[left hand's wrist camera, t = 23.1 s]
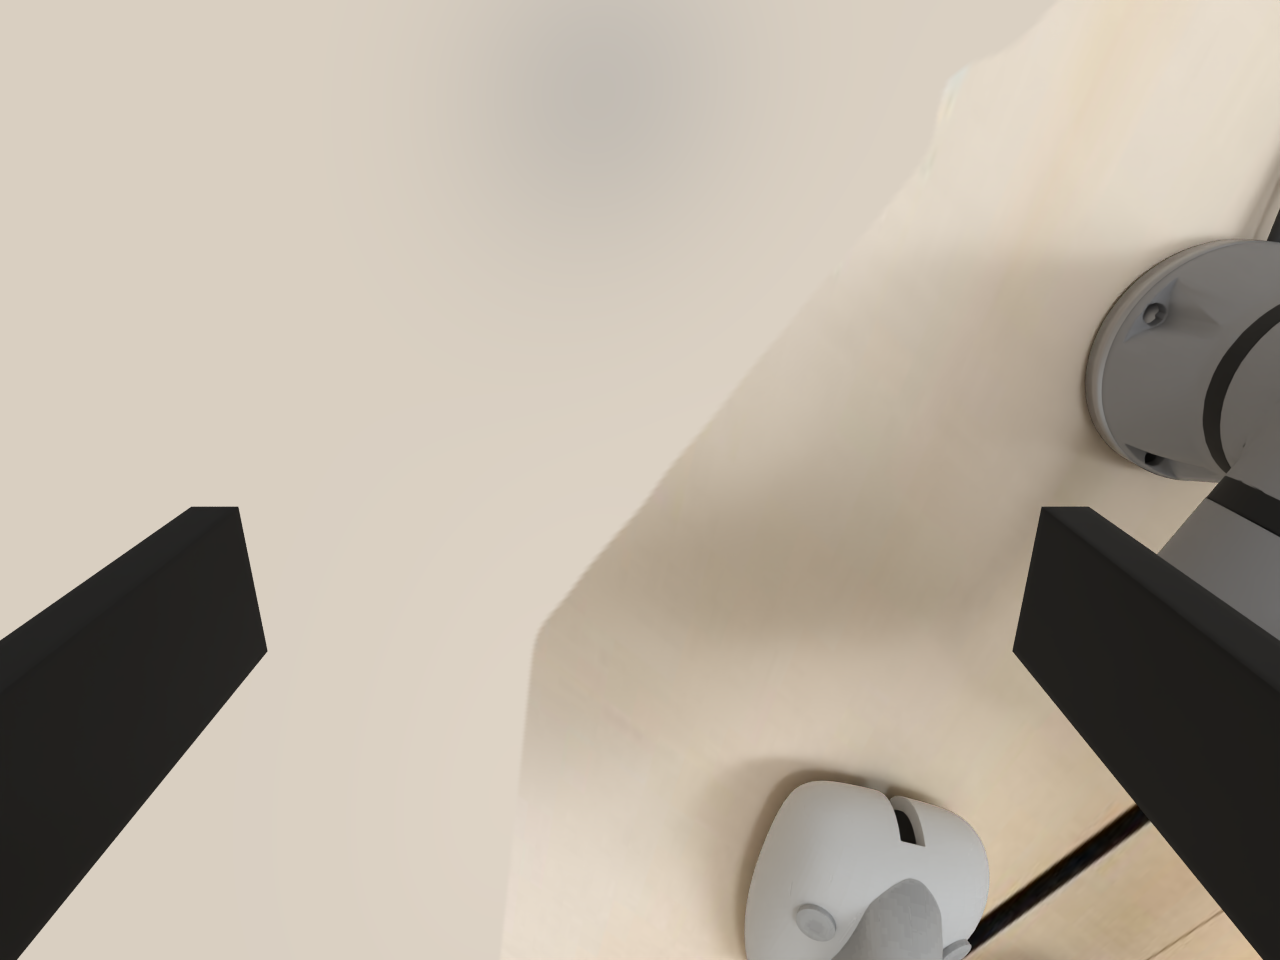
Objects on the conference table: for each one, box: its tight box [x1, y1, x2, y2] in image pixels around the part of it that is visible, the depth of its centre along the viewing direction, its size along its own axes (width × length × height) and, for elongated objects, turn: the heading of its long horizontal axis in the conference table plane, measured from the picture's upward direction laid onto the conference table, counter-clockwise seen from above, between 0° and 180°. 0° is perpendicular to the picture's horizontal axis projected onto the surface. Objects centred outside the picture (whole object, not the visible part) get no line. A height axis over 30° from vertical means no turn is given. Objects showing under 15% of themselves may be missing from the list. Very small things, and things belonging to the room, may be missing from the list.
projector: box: [745, 781, 989, 960], centre depth 58 cm, size 22×23×15 cm
